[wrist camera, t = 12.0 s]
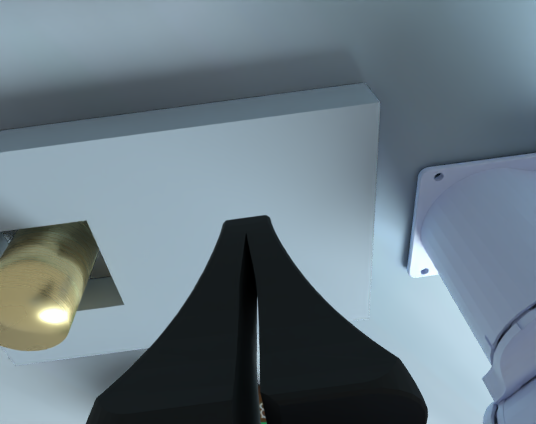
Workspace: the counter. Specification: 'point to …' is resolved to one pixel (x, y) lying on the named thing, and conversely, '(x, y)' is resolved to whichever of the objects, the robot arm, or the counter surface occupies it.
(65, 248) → the gold metal cylinder
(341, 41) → the counter surface
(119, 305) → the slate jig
